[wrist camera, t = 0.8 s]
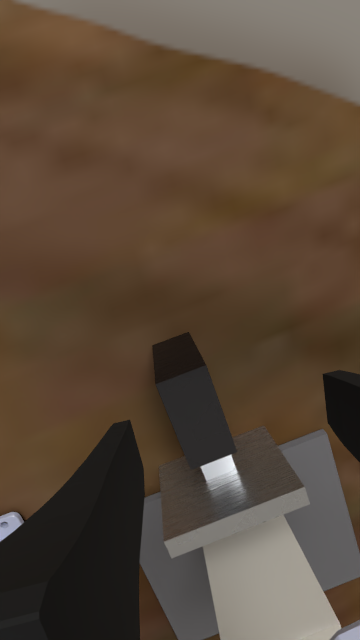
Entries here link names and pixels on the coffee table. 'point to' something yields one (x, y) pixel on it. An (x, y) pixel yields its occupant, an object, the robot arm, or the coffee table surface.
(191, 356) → the mounted block
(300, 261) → the coffee table surface
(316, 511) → the mat
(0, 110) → the coffee table surface
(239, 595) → the cream rectangular block
